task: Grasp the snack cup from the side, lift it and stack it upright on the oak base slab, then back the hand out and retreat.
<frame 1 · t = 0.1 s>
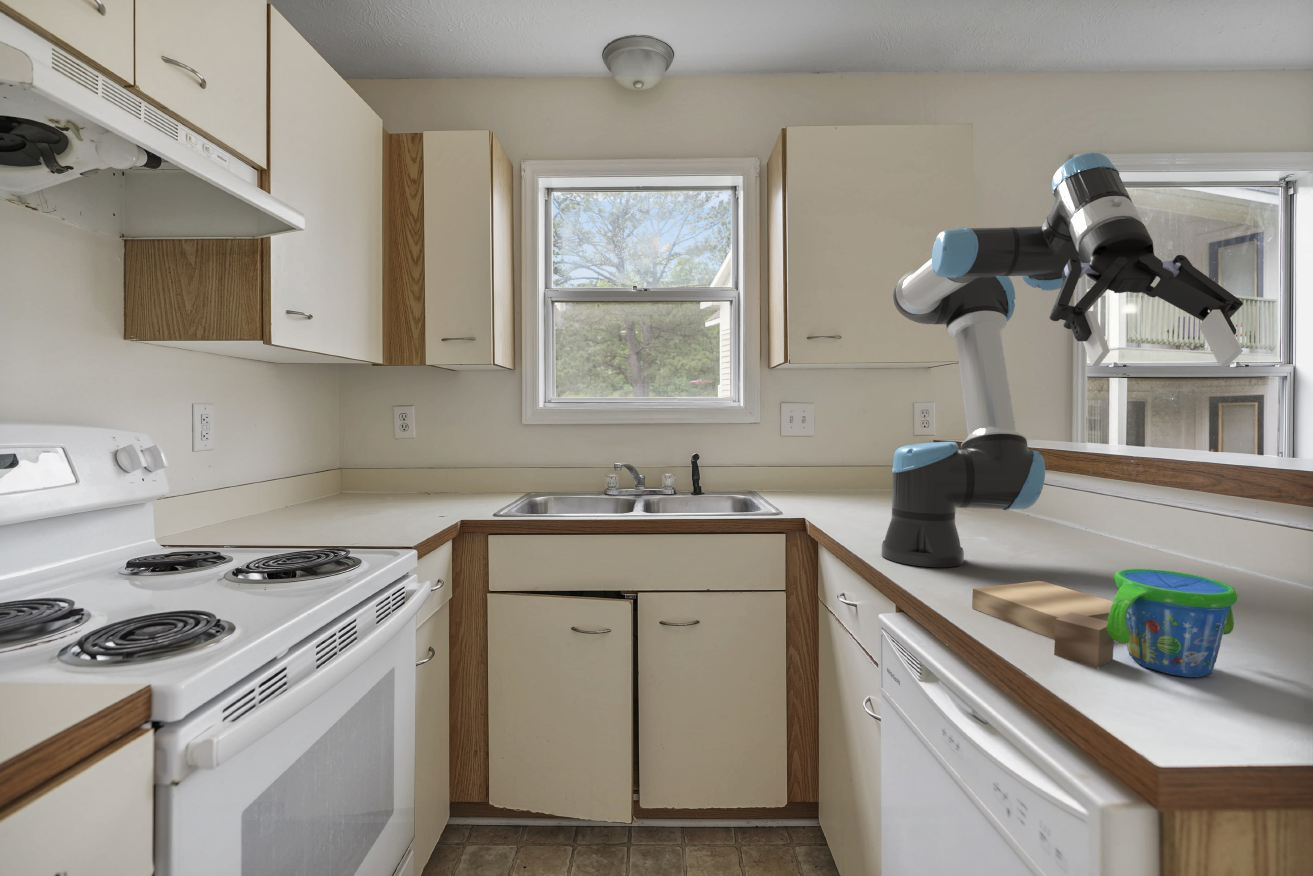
hand: (1165, 359, 70), 36 cm above the counter, tool tilted 35°, fingers open, 13 cm apart
walnut block: (1083, 657, 72), on the counter
snack cup: (1168, 667, 70), on the counter
oak base slab: (1050, 618, 86), on the counter
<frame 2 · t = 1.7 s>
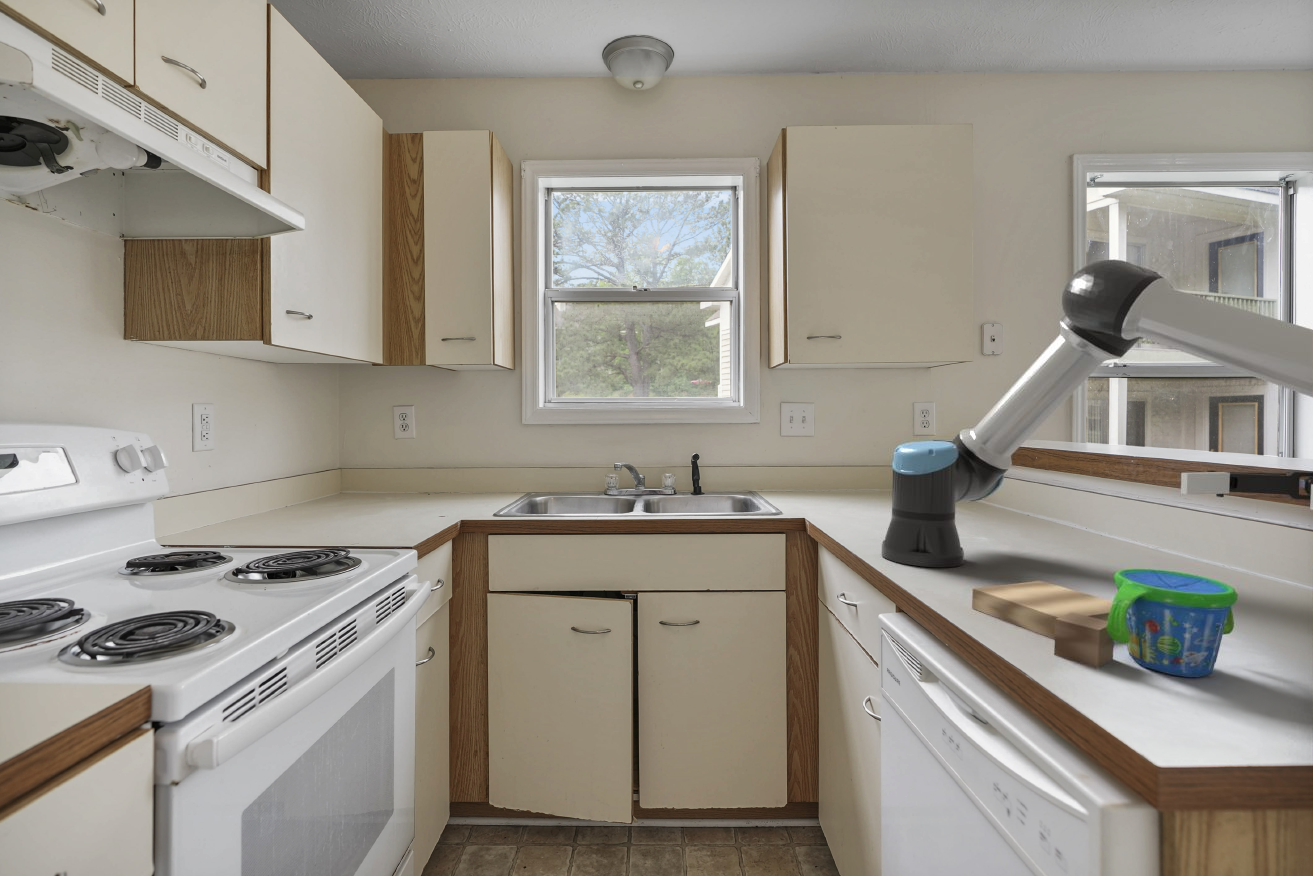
hand: (1242, 489, 71), 21 cm above the counter, tool horizontal, fingers open, 13 cm apart
nothing on the counter moved.
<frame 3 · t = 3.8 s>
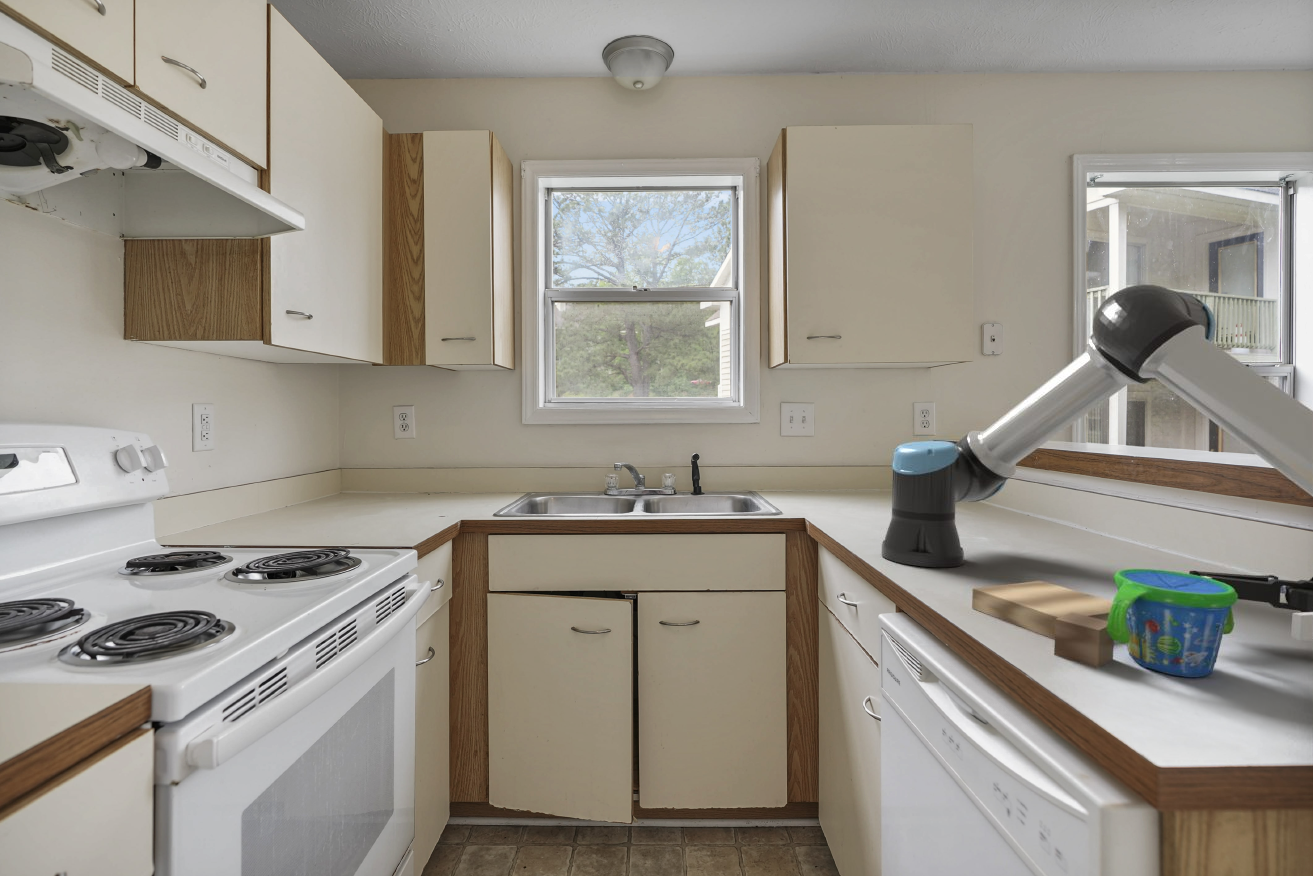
hand: (1224, 606, 70), 7 cm above the counter, tool horizontal, fingers open, 13 cm apart
nothing on the counter moved.
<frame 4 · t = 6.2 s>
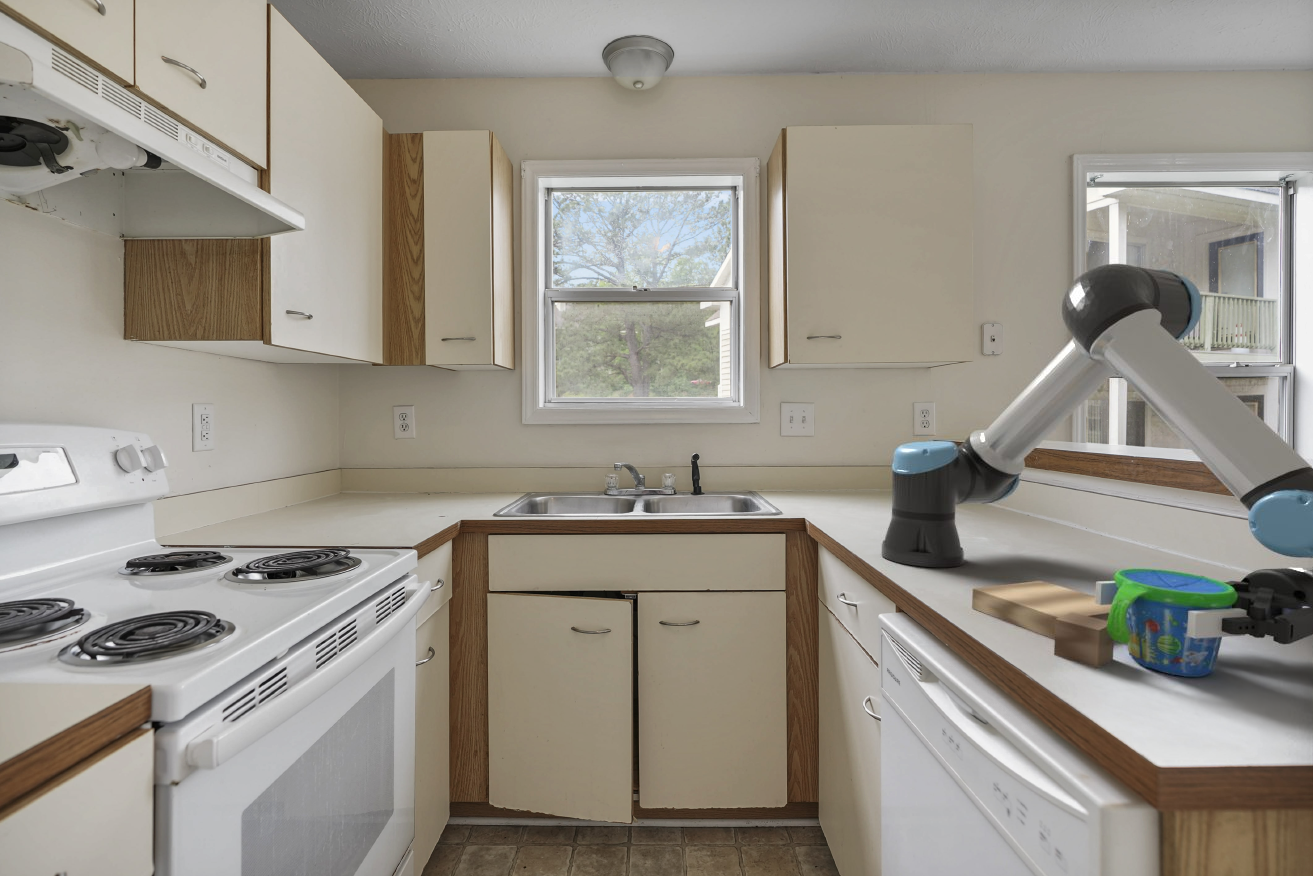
hand: (1141, 607, 69), 7 cm above the counter, tool horizontal, fingers closed on snack cup, 10 cm apart
snack cup: (1168, 667, 70), on the counter, touching gripper
everything else where it was.
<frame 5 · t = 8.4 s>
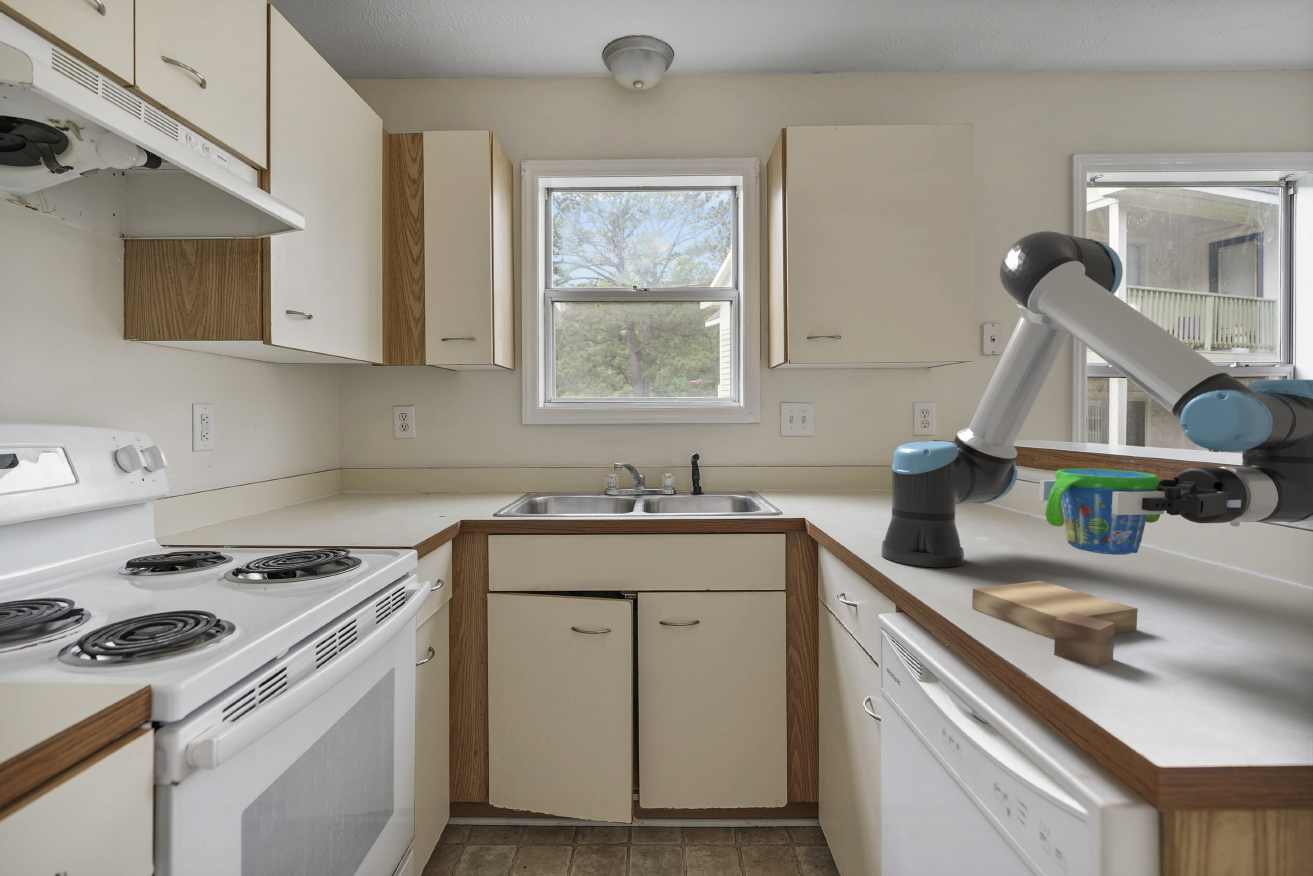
hand: (1075, 496, 77), 19 cm above the counter, tool horizontal, fingers closed on snack cup, 10 cm apart
snack cup: (1101, 551, 78), point 11 cm above the counter, touching gripper
everything else where it was.
when the fingers open (11 cm above the counter, at t = 10.8 s): snack cup drops 1 cm, resting on oak base slab.
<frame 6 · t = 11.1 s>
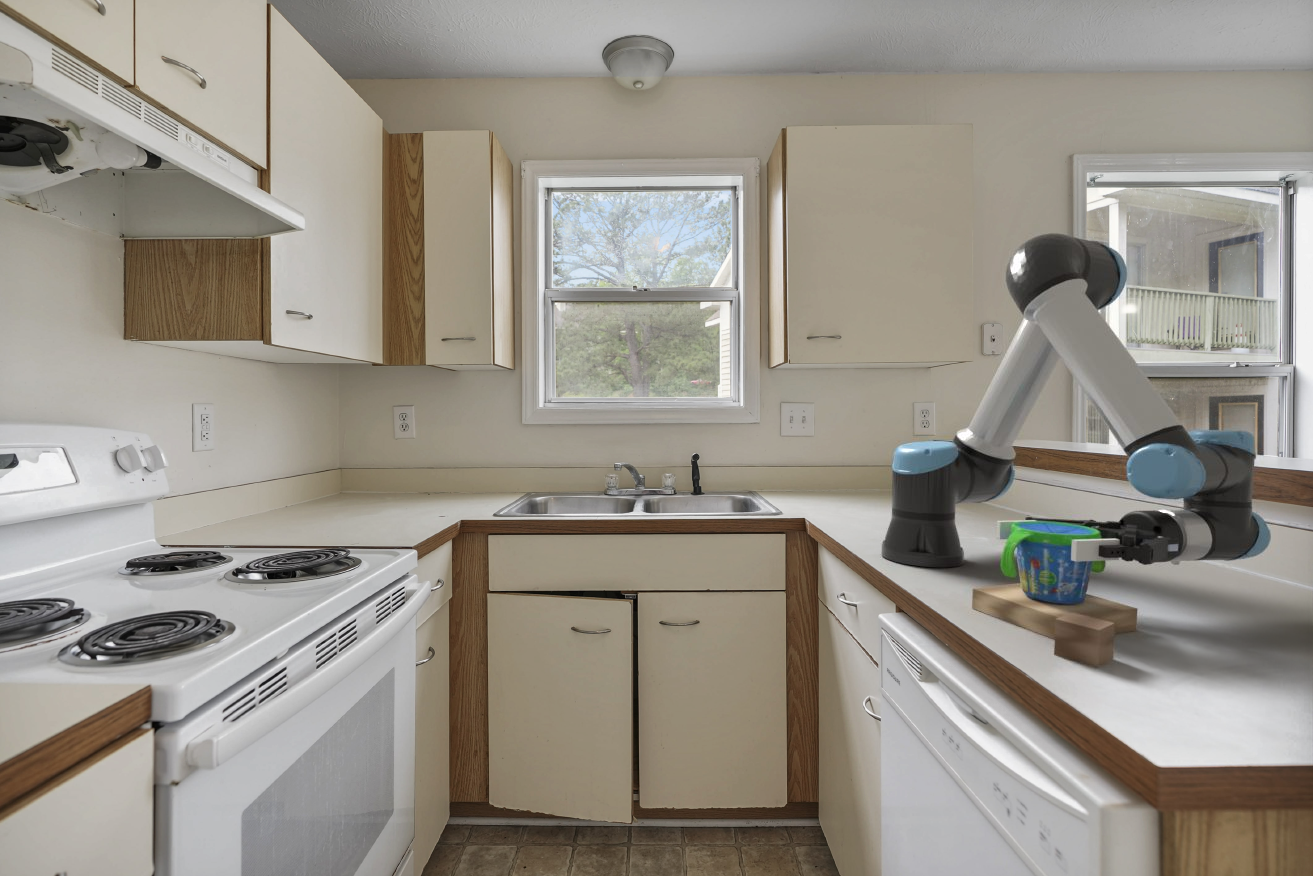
hand: (1032, 539, 85), 11 cm above the counter, tool horizontal, fingers open, 13 cm apart
snack cup: (1052, 599, 86), point 3 cm above the counter, touching oak base slab
everything else where it was.
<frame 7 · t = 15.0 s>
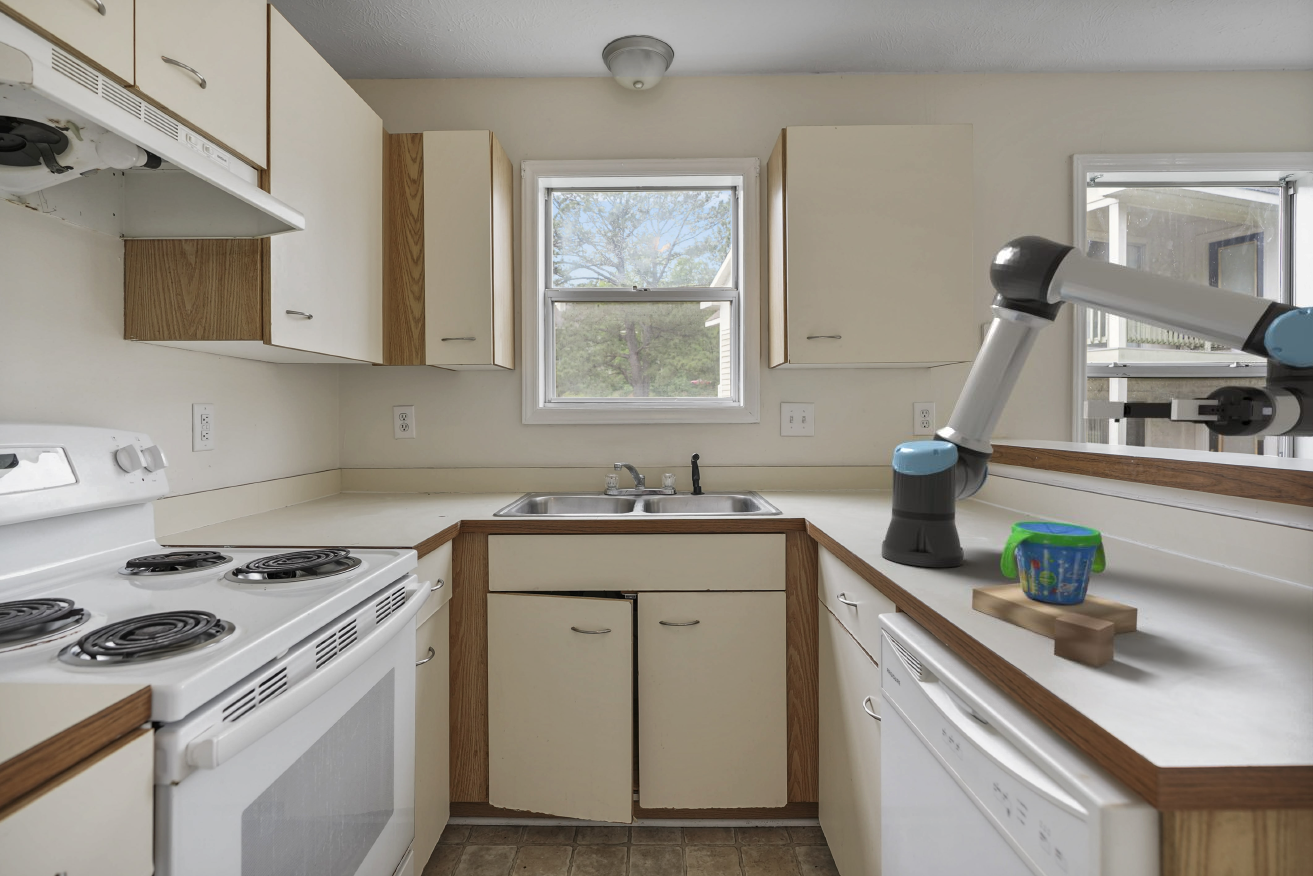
hand: (1126, 409, 87), 30 cm above the counter, tool horizontal, fingers open, 13 cm apart
nothing on the counter moved.
at the end: snack cup inside the target area on the oak base slab (0.1 cm from its centre), point 2.8 cm above the oak base slab's base; snack cup tilted 0°; the gripper is holding nothing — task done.
